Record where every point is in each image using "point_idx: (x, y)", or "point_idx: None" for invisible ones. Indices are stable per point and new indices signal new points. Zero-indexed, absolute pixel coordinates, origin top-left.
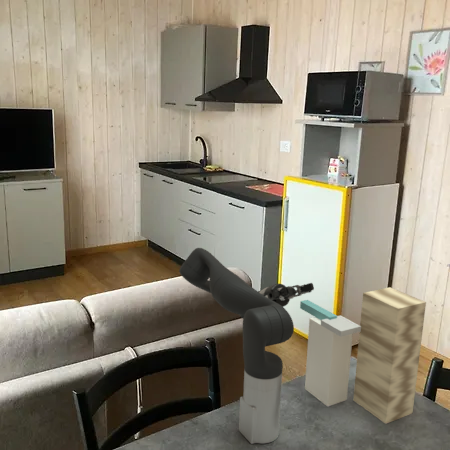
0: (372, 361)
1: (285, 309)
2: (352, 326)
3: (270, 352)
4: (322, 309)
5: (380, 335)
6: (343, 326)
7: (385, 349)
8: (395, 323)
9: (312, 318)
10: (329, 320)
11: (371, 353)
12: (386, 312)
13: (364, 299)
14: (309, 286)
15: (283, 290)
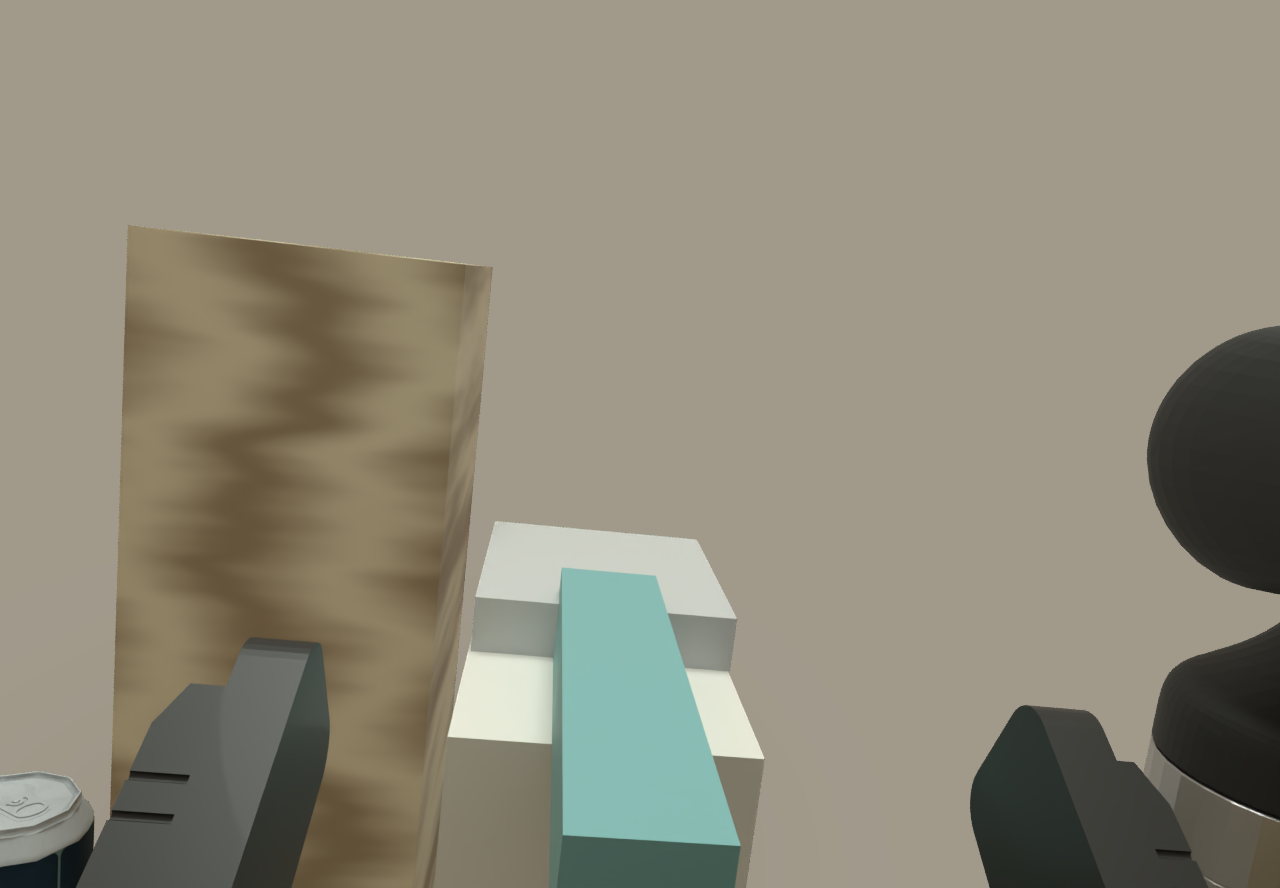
0: (441, 713)
1: (1236, 337)
2: (558, 534)
3: (1264, 703)
4: (598, 639)
5: (464, 498)
6: (624, 549)
7: (462, 556)
8: (483, 361)
9: (729, 748)
10: (664, 596)
11: (442, 671)
12: (480, 326)
13: (464, 316)
14: (301, 753)
15: (1167, 840)
